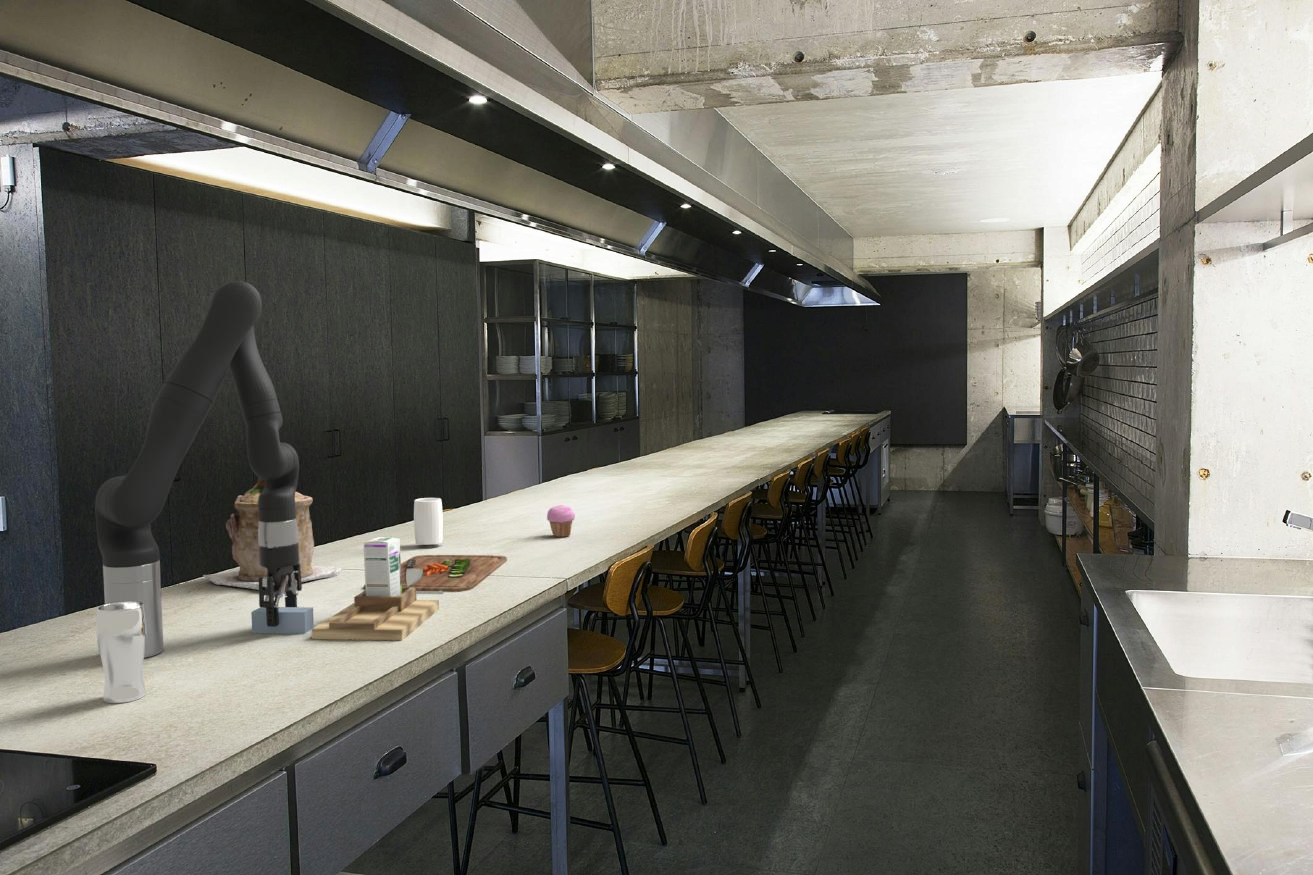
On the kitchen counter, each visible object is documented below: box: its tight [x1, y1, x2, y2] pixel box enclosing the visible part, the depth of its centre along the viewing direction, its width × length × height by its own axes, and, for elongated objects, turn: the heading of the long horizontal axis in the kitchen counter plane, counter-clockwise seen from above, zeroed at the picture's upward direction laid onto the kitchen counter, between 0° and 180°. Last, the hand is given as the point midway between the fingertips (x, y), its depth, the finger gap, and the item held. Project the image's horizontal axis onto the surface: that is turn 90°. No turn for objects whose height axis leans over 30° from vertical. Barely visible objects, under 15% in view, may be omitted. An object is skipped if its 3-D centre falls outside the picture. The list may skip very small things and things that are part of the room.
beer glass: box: [95, 601, 147, 705], centre depth 152 cm, size 7×7×15 cm
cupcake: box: [546, 504, 576, 538], centre depth 299 cm, size 9×9×10 cm
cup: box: [413, 497, 444, 545], centre depth 284 cm, size 8×8×14 cm
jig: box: [311, 587, 440, 641], centre depth 197 cm, size 24×18×5 cm
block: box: [250, 606, 315, 634], centre depth 192 cm, size 11×4×4 cm, turn 86°
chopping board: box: [363, 554, 508, 595], centre depth 246 cm, size 45×27×3 cm, turn 175°
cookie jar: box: [202, 477, 342, 591], centre depth 240 cm, size 25×25×32 cm
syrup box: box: [363, 536, 402, 596], centre depth 203 cm, size 6×6×14 cm
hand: (282, 620), depth 193 cm, fingers open, 8 cm apart
